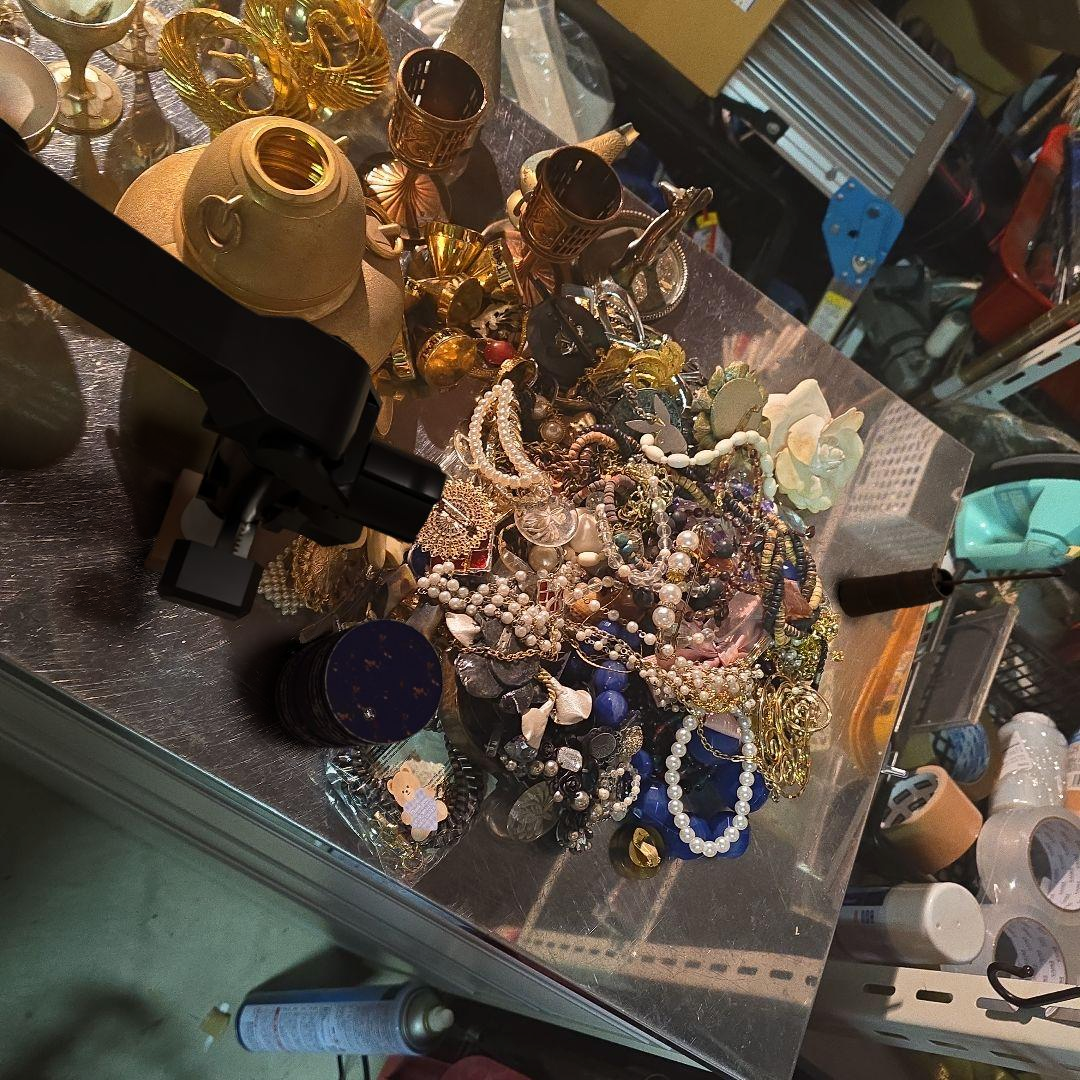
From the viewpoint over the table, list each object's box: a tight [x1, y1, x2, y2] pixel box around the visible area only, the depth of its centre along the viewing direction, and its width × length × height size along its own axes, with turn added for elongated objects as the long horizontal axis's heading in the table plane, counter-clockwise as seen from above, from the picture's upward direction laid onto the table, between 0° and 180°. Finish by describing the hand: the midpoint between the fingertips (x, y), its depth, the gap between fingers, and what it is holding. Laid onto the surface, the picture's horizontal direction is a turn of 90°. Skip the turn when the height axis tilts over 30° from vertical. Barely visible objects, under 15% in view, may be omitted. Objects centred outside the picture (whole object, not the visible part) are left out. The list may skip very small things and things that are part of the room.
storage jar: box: [275, 618, 445, 750], centre depth 75 cm, size 10×10×15 cm
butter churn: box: [839, 562, 1065, 618], centre depth 107 cm, size 9×10×28 cm
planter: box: [181, 492, 245, 547], centre depth 70 cm, size 4×4×10 cm
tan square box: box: [143, 467, 241, 574], centre depth 77 cm, size 7×8×5 cm
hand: (220, 513), depth 71 cm, fingers open, 9 cm apart
